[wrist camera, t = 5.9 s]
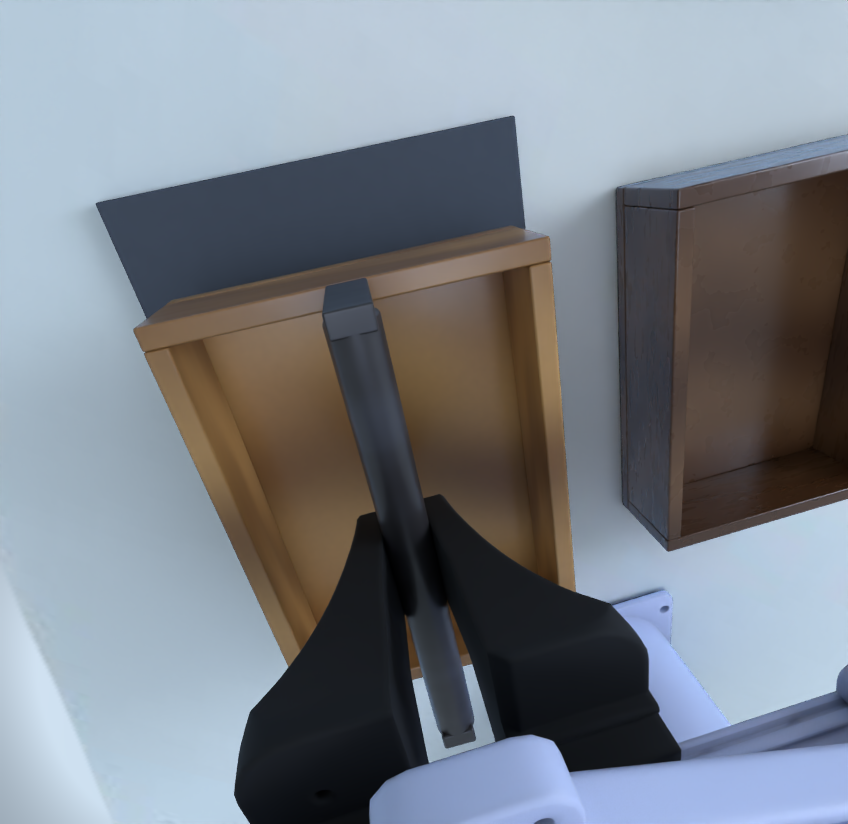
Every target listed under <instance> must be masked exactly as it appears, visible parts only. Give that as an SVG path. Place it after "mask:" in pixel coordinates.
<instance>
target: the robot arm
mask: <svg viewBox="0 0 848 824" xmlns="http://www.w3.org/2000/svg"><path fill="white" fill-rule="evenodd" d="M424 503H425V507H426V511H427V516H428V520H429V524H430V529H431V533H432V537H433V542H434V546H435V550H436V555H437V559H438V563H439V568H440V572H441V576H442V580H443V585H444V589H445V593H446V598H447V601H448V603H449V606H450V608H451V611H452V613H453V616H454V618H455V621H456V623H457V626H458V628H459V630H460V633H461V635H462V638H463V640H464V643H465V645H466V648H467V650H468V653H469V656H470V659H471V661H472V664H473V667H474V671H475V674H476V677H477V681H478V684H479V687H480V691H481V694H482V697H483V701H484V704H485V707H486V711H487V714H488V717H489V721H490V724H491V727H492V731H493V734H494V738H495V741H496V742H494V743H491V744H488V745H485V746H482V747H479V748H476V749H472V750H469V751H466V752H463V753H460V754H457V755H453V756H450V757H447V758H444V759H441V760H438V761H435V762H431V763H429V762H428V757H427V752H426V748H425V743H424V738H423V733H422V728H421V723H420V718H419V713H418V708H417V703H416V698H415V693H414V688H413V683H412V676H411V669H410V660H409V650H408V641H407V631H406V621H405V612H404V609H403V605H402V602H401V599H400V595H399V592H398V588H397V585H396V581H395V578H394V574H393V571H392V567H391V564H390V560H389V557H388V553H387V550H386V546H385V543H384V539H383V536H382V532H381V529H380V525H379V522H378V519H377V515H376V512H371V513H367V514H364V515H360V516H359V518H358V519H357V523H356V529H355V533H354V537H353V541H352V545H351V548H350V551H349V554H348V557H347V560H346V563H345V566H344V569H343V572H342V574H341V577H340V579H339V581H338V584H337V586H336V589H335V591H334V593H333V595H332V598H331V600H330V602H329V604H328V606H327V608H326V610H325V612H324V613H323V615H322V617H321V619H320V621H319V623H318V624H317V626H316V628H315V629H314V631H313V633H312V634H311V636H310V637H309V639H308V641H307V642H306V644H305V645H304V647H303V648H302V650H301V651H300V653H299V654H298V655H297V657H296V658H295V659H294V661H293V662H292V663H291V665H290V666H289V667H288V669H287V670H286V672H285V673H284V674H283V675H282V677H281V678H280V679H279V680H278V682H277V683H276V684H275V685H274V686H273V687H272V688H271V689H270V690H269V692H268V693H267V694H266V695H265V696H264V697H263V698H262V699H261V701H260V702H259V703H258V704H257V705H256V706H255V707H254V708H253V709H252V710H251V711H250V714H249V717H248V720H247V724H246V727H245V731H244V735H243V739H242V742H241V746H240V752H239V757H238V765H237V773H236V780H235V791H234V796H235V798H236V801H237V804H238V806H239V807H240V809H241V810H242V812H243V814H244V815H245V817H246V818H247V820H248V821H249V823H250V824H848V665H847V666H846V667H844V668H843V669H842V670H841V672H840V673H839V675H838V678H837V685H836V691H835V692H832V693H829V694H826V695H823V696H820V697H817V698H814V699H811V700H808V701H805V702H801V703H798V704H795V705H792V706H789V707H786V708H783V709H780V710H777V711H774V712H771V713H768V714H765V715H762V716H759V717H756V718H753V719H750V720H747V721H743V722H740V723H737V724H734V725H731V724H730V723H729V721H728V720H727V719H726V717H725V716H724V715H723V714H722V712H721V711H720V710H719V708H718V707H717V706H716V704H715V703H714V702H713V700H712V699H711V698H710V696H709V695H708V694H707V692H706V691H705V690H704V688H703V687H702V686H701V684H700V683H699V682H698V680H697V679H696V678H695V676H694V675H693V674H692V672H691V671H690V670H689V668H688V667H687V666H686V664H685V663H684V662H683V660H682V659H681V658H680V656H679V655H678V654H677V652H676V651H675V650H674V648H673V647H672V646H671V629H672V604H673V599H672V596H671V595H670V594H669V593H668V592H667V591H658V592H655V593H652V594H648V595H645V596H642V597H638V598H635V599H632V600H628V601H625V602H622V603H618V604H615V605H611V604H609V603H606V602H603V601H600V600H597V599H594V598H591V597H588V596H585V595H582V594H579V593H576V592H574V591H571V590H569V589H566V588H564V587H562V586H559V585H557V584H555V583H553V582H551V581H549V580H547V579H545V578H543V577H541V576H539V575H537V574H535V573H533V572H532V571H530V570H528V569H527V568H525V567H523V566H522V565H520V564H518V563H517V562H515V561H514V560H512V559H511V558H509V557H508V556H506V555H505V554H504V553H502V552H501V551H499V550H498V549H497V548H496V547H494V546H493V545H492V544H490V543H489V542H488V541H487V540H486V539H484V538H483V537H482V536H481V535H480V534H479V533H477V532H476V531H475V530H474V529H473V528H472V527H471V526H470V525H469V524H468V523H467V522H466V521H465V520H464V519H463V518H462V517H461V516H460V515H459V514H458V513H457V512H456V511H455V510H454V509H453V507H452V506H451V505H450V504H449V503H448V501H447V500H446V498H445V497H444V496H443V495H441V494H437V495H434V496H430V497H426V498H424Z"/></svg>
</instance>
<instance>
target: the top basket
mask: <svg viewBox="0 0 848 824" xmlns="http://www.w3.org/2000/svg"><path fill="white" fill-rule="evenodd" d="M550 260H551V247H550V238H549V236H545V235H542V234H539V233H535V232H532V231H528V230H525V229H521V228H518V227H515V226H512V225H511V226H506V227H502V228H497V229H492V230H488V231H483V232H479V233H474V234H470V235H465V236H461V237H456V238H452V239H447V240H443V241H438V242H433V243H429V244H424V245H420V246H415V247H411V248H406V249H402V250H397V251H393V252H388V253H384V254H379V255H374V256H370V257H365V258H361V259H356V260H352V261H347V262H343V263H338V264H334V265H329V266H325V267H320V268H315V269H311V270H306V271H302V272H297V273H293V274H288V275H284V276H279V277H275V278H270V279H266V280H261V281H256V282H252V283H247V284H243V285H238V286H234V287H229V288H225V289H220V290H216V291H211V292H207V293H202V294H197V295H193V296H188V297H184V298H179V299H175V300H171V301H170V302H169V303H167V304H166V305H165V306H164V307H162V308H161V309H160V310H158V311H157V312H156V313H154V314H153V315H152V316H150V317H149V318H147V319H146V320H145V321H143V322H142V323H141V324H139V325H138V326H137V327H135V328H134V329H133V331H134V334H135V336H136V338H137V340H138V342H139V344H140V347H141V349H142V351H143V352H145V353H144V355H145V358H146V360H147V362H148V364H149V366H150V368H151V371H152V373H153V375H154V377H155V379H156V381H157V384H158V386H159V388H160V390H161V392H162V394H163V397H164V399H165V401H166V403H167V405H168V407H169V410H170V412H171V414H172V416H173V418H174V420H175V422H176V425H177V427H178V429H179V431H180V433H181V435H182V438H183V440H184V442H185V444H186V446H187V448H188V451H189V453H190V455H191V457H192V459H193V461H194V464H195V466H196V468H197V470H198V472H199V474H200V477H201V479H202V481H203V483H204V485H205V487H206V490H207V492H208V494H209V496H210V498H211V500H212V503H213V505H214V507H215V509H216V511H217V513H218V515H219V518H220V520H221V522H222V524H223V526H224V528H225V531H226V533H227V535H228V537H229V539H230V541H231V544H232V546H233V548H234V550H235V552H236V554H237V557H238V559H239V561H240V563H241V565H242V567H243V570H244V572H245V574H246V576H247V578H248V580H249V583H250V585H251V587H252V589H253V591H254V593H255V596H256V598H257V600H258V602H259V604H260V606H261V608H262V611H263V613H264V615H265V617H266V619H267V621H268V624H269V626H270V628H271V630H272V632H273V634H274V637H275V639H276V641H277V643H278V645H279V647H280V650H281V652H282V654H283V656H284V658H285V660H286V663H287V665H288V667H289V666H290V665H291V663H292V662H293V661H294V659H295V658H296V657H297V655H298V654H299V653H300V651H301V650H302V648H303V647H304V645H305V644H306V642H307V641H308V639H309V637H310V636H311V634H312V633H313V631H314V629H315V628H316V626H317V624H318V623H319V621H320V619H321V617H322V615H323V613H324V612H325V610H326V608H327V606H328V604H329V602H330V600H331V598H332V595H333V593H334V591H335V589H336V586H337V584H338V581H339V579H340V577H341V574H342V572H343V569H344V566H345V563H346V560H347V557H348V554H349V551H350V548H351V545H352V541H353V537H354V533H355V529H356V523H357V519H358V518H359V516H360V515H364V514H367V513H371V512H376V515H377V519H378V522H379V525H380V529H381V532H382V536H383V539H384V543H385V546H386V550H387V553H388V557H389V560H390V564H391V567H392V571H393V574H394V578H395V581H396V585H397V588H398V592H399V595H400V599H401V602H402V605H403V609H404V612H405V621H406V631H407V641H408V650H409V660H410V669H411V676H412V680H414V679H417V678H421V677H423V679H424V682H425V685H426V689H427V692H428V696H429V699H430V703H431V706H432V710H433V713H434V717H435V720H436V724H437V727H438V730H439V731H440V733H441V734H442V739H443V742H444V746H445V748H451V747H454V746H458V745H462V744H465V743H469V742H473V741H475V740H476V736H475V732H474V728H473V724H474V714H473V710H472V706H471V702H470V697H469V693H468V689H467V684H466V680H465V676H464V671H463V667H462V666H466V665H470V664H472V661H471V659H470V656H469V653H468V650H467V648H466V645H465V643H464V640H463V638H462V635H461V633H460V630H459V628H458V626H457V623H456V621H455V618H454V616H453V613H452V611H451V608H450V606H449V603H448V601H447V598H446V593H445V589H444V585H443V580H442V576H441V572H440V568H439V563H438V559H437V555H436V550H435V546H434V542H433V537H432V533H431V529H430V524H429V520H428V516H427V511H426V507H425V503H424V498H426V497H430V496H434V495H437V494H441V495H443V496H444V497H445V498H446V500H447V501H448V503H449V504H450V505H451V506H452V507H453V509H454V510H455V511H456V512H457V513H458V514H459V515H460V516H461V517H462V518H463V519H464V520H465V521H466V522H467V523H468V524H469V525H470V526H471V527H472V528H473V529H474V530H475V531H476V532H477V533H479V534H480V535H481V536H482V537H483V538H484V539H486V540H487V541H488V542H489V543H490V544H492V545H493V546H494V547H496V548H497V549H498V550H499V551H501V552H502V553H504V554H505V555H506V556H508V557H509V558H511V559H512V560H514V561H515V562H517V563H518V564H520V565H522V566H523V567H525V568H527V569H528V570H530V571H532V572H533V573H535V574H537V575H539V576H541V577H543V578H545V579H547V580H549V581H551V582H553V583H555V584H557V585H559V586H562V587H564V588H566V589H569V590H571V591H574V592H576V588H575V575H574V561H573V548H572V534H571V520H570V507H569V493H568V480H567V466H566V452H565V439H564V425H563V411H562V398H561V384H560V371H559V357H558V343H557V330H556V316H555V303H554V289H553V275H552V263H551V262H550Z"/></svg>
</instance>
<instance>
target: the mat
mask: <svg viewBox="0 0 848 824" xmlns="http://www.w3.org/2000/svg"><path fill="white" fill-rule="evenodd" d="M96 206H97V208H98V210H99V213H100V215H101V217H102V219H103V222H104V224H105V226H106V228H107V231H108V233H109V235H110V237H111V240H112V242H113V244H114V246H115V249H116V251H117V253H118V255H119V257H120V260H121V262H122V264H123V266H124V269H125V271H126V273H127V275H128V278H129V280H130V282H131V284H132V287H133V289H134V291H135V293H136V296H137V298H138V300H139V302H140V305H141V307H142V309H143V311H144V313H145V316H146V318H149V317H150V316H152V315H153V314H154V313H156V312H157V311H158V310H160V309H161V308H162V307H164V306H165V305H166V304H167V303H169V302H170V301H171V300H175V299H179V298H184V297H188V296H193V295H197V294H202V293H207V292H211V291H216V290H220V289H225V288H229V287H234V286H238V285H243V284H247V283H252V282H256V281H261V280H266V279H270V278H275V277H279V276H284V275H288V274H293V273H297V272H302V271H306V270H311V269H315V268H320V267H325V266H329V265H334V264H338V263H343V262H347V261H352V260H356V259H361V258H365V257H370V256H374V255H379V254H384V253H388V252H393V251H397V250H402V249H406V248H411V247H415V246H420V245H424V244H429V243H433V242H438V241H443V240H447V239H452V238H456V237H461V236H465V235H470V234H474V233H479V232H483V231H488V230H492V229H497V228H502V227H506V226H511V225H512V226H515V227H518V228H521V229H525V220H524V210H523V199H522V189H521V179H520V168H519V158H518V147H517V137H516V126H515V117H514V116H509V117H505V118H500V119H495V120H490V121H485V122H481V123H476V124H471V125H466V126H462V127H457V128H452V129H447V130H442V131H438V132H433V133H428V134H423V135H419V136H414V137H409V138H404V139H399V140H395V141H390V142H385V143H380V144H375V145H371V146H366V147H361V148H356V149H352V150H347V151H342V152H337V153H332V154H328V155H323V156H318V157H313V158H309V159H304V160H299V161H294V162H289V163H285V164H280V165H275V166H270V167H266V168H261V169H256V170H251V171H246V172H242V173H237V174H232V175H227V176H223V177H218V178H213V179H208V180H203V181H199V182H194V183H189V184H184V185H180V186H175V187H170V188H165V189H160V190H156V191H151V192H146V193H141V194H137V195H132V196H127V197H122V198H117V199H113V200H108V201H103V202H98V203H96Z"/></svg>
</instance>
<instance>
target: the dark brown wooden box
mask: <svg viewBox="0 0 848 824" xmlns="http://www.w3.org/2000/svg"><path fill="white" fill-rule="evenodd" d="M616 191H617V240H618V289H619V338H620V386H621V435H622V484H623V505H624V506H625V507H626V508H627V509H629V511H630V512H631V513H632V514H633V515H634V516H635V517H636V518H637V520H638V521H639V522H640V523H641V524H642V525H643V526H644V527H645V528H646V529H647V530H648V531H649V532H650V533H651V535H652V536H653V537H654V538H655V539H656V540H657V541H658V542H659V543H660V544H661V545H662V546H663V547H664V548H665V550H666V551H668V552H669V551H673V550H676V549H680V548H683V547H686V546H690V545H693V544H696V543H700V542H703V541H707V540H710V539H713V538H717V537H720V536H724V535H727V534H730V533H734V532H737V531H741V530H744V529H747V528H751V527H754V526H757V525H761V524H764V523H768V522H771V521H774V520H778V519H781V518H785V517H788V516H791V515H795V514H798V513H802V512H805V511H808V510H812V509H815V508H818V507H822V506H825V505H829V504H832V503H835V502H839V501H842V500H846V499H848V134H847V135H843V136H839V137H834V138H830V139H825V140H821V141H817V142H812V143H808V144H804V145H799V146H795V147H790V148H786V149H782V150H777V151H773V152H769V153H764V154H760V155H755V156H751V157H747V158H742V159H738V160H734V161H729V162H725V163H720V164H716V165H712V166H707V167H703V168H699V169H694V170H690V171H685V172H681V173H677V174H672V175H668V176H664V177H659V178H655V179H651V180H646V181H642V182H637V183H633V184H629V185H624V186H620V187H617V189H616Z"/></svg>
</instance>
